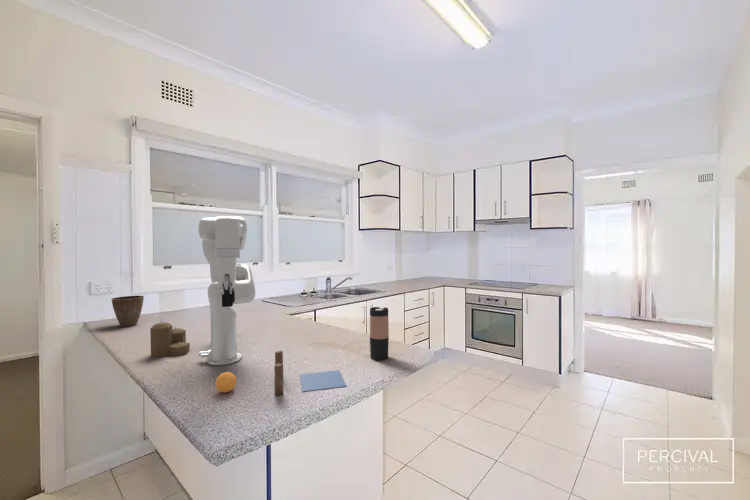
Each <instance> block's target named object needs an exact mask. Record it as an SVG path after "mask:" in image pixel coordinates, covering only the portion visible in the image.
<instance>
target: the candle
mask: <svg viewBox="0 0 750 500" xmlns="http://www.w3.org/2000/svg"><path fill="white" fill-rule="evenodd" d="M186 334H187V333H186V329H184V328H179V327H177V326H175V327H174V328H173V325H172V324H171V323H170V322H164V321H163V319H162V318H160V322H157V323H155V324H153V325H152V326H151V327H150V356H151V357H154V358H160V357H165V356H174V357H177V356H182V355H187V354H188V353H190V351H191V350H190V347H191V346H190V342H187V341H186V340H187V337H186V336H187V335H186Z"/></svg>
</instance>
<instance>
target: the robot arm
mask: <svg viewBox="0 0 750 500" xmlns="http://www.w3.org/2000/svg"><path fill="white" fill-rule="evenodd" d="M247 226H248V225H247V221H246V220H245V218H244V217H241V216H231V215H230V216H226V215H225V216H224V215H223V216H222V215H220V216H219V215H218V216H215V217H204V218H200V220H199V223H198V234H199V237H200V239H201V240H202V243H201V244H202V245H201V246H202V251H203V256H205V257H204V258H205V259H206V261H207V262H208V264H209V270H210V271H209V273H210V281H211V284H209V286H208V288H207V297H208V303H209V310H210V311H209V314H210V349H208V350H207V351H205V350H204V351H203V350H202V351H198V358H199V357H200V358H207V359H206V364H208V365H211V366H224V365H225V366H226V365H230V364H234V363H236V362H237V363H238V361H241V359H242V354H241V353H239V352H238V316H237V313H236V312H235V310H234V309H233V308H232V307H233V306H234V305H238V304H248V303H252V302H254V300H255V298H256V287H255V281H254V276H253V273H252V270H251V267H250V266H249V265H248V264H243V263H237V259H239V258H241V254H240V253H241V251H243V250H244V249H245V244H246V239H247V232H248V227H247Z"/></svg>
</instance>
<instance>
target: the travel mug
mask: <svg viewBox="0 0 750 500" xmlns="http://www.w3.org/2000/svg"><path fill="white" fill-rule="evenodd" d="M389 328H390V327H389V308H388V307H382V308H380V307H379V306H373V307H370V309H369V351H370V356H369V357H370V359H371V360H372V361H377V362H378V361H386V360H387V359H388V358H389V343H390V342H389V339H390V337H389V336H390V335H389V334H390V333H389Z"/></svg>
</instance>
